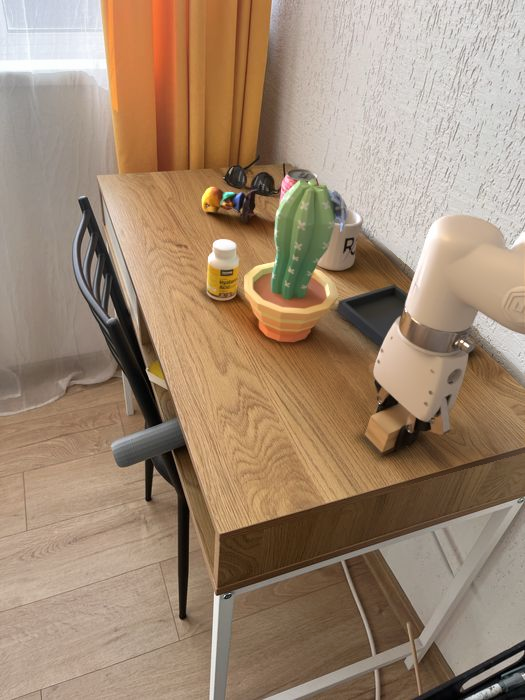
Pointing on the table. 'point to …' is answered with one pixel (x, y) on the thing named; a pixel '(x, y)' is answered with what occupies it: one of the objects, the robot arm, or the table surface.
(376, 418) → the wooden block
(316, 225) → the potted cactus
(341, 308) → the tray
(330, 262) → the mug
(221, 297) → the supplement bottle
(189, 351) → the table surface
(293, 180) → the beverage can
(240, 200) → the figurine
